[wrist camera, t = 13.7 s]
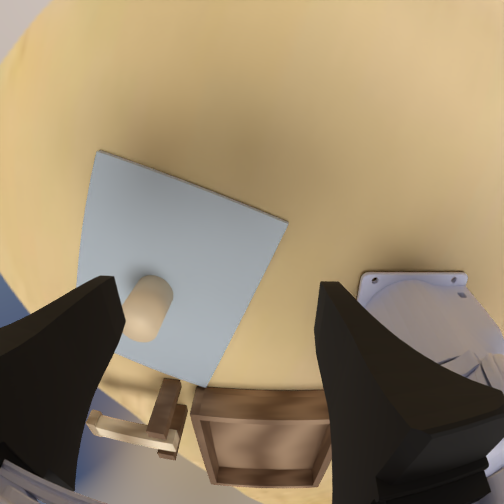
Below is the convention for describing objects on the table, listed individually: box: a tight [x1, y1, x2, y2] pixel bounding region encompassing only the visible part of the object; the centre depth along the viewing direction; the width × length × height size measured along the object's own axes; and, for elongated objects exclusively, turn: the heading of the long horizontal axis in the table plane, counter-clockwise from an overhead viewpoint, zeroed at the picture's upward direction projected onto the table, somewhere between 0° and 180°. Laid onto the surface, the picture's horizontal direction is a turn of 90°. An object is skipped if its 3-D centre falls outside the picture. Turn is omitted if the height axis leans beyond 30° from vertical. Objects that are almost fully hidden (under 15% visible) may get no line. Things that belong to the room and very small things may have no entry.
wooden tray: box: [146, 378, 332, 488], centre depth 28 cm, size 17×19×6 cm
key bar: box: [86, 410, 180, 452], centre depth 24 cm, size 9×2×2 cm, turn 90°
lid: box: [76, 150, 288, 388], centre depth 21 cm, size 14×18×5 cm
